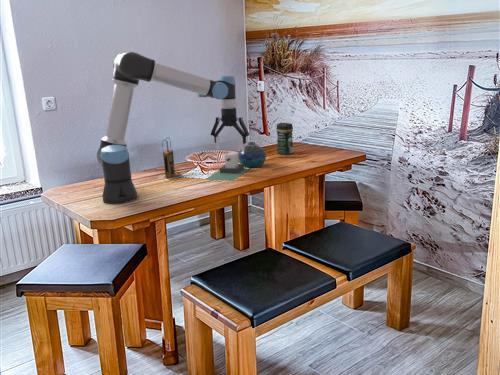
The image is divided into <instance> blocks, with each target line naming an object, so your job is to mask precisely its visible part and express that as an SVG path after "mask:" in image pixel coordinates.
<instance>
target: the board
mask: <svg viewBox="0 0 500 375" xmlns="http://www.w3.org/2000/svg"><path fill="white" fill-rule="evenodd" d="M249 170H250V168H246V167H244V164H240V163H239V166H238V167H237V168H225V164H224V165H223V166H221V167H219V170H218V171H216V172H214V173H213V174H211V175H210V176H208V177H206V178H205V181H206V180H208V181H209V180H210V181H232V182H233V181H235V180H236V179H238V178H239V177H241V176H242V175H244V174H245V173H246V172H247V171H249Z"/></svg>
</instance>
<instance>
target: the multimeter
mask: <svg viewBox="0 0 500 375" xmlns="http://www.w3.org/2000/svg"><path fill="white" fill-rule="evenodd" d="M168 139H169V143H168ZM164 141H165V142H166V151H164V150H162V156H163V166H164V167H163V168H164V175H165V176H164V177H165V178H167V180H170V181H172V180H176V179H179V178H180V177H182V178H183V177H185V176H184V175H181V174H180V172H177V171H176V169H175V160H174V159H175V157H174V150H173V149H170V148H172V144H171V138H170V137H166V138H165V139H163V140H162V144H161V145H162V146H164ZM169 145H170V148H169ZM175 174H177V176H176V177H174V178H172V177H173V176H174V175H175Z"/></svg>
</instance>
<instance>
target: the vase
mask: <svg viewBox="0 0 500 375" xmlns="http://www.w3.org/2000/svg"><path fill="white" fill-rule="evenodd" d="M244 146H245V150H241V148H240V149H239V151H238V152H237V153H238V163H239V164H244V168H248V169H254V168H259V167H261V166H263V165H264V164H265V162H266V159H267V153H266V150H265V148H263V147H262V146H260V145H259V144H256V142H255V141H249V142H247V144H246V145H244Z"/></svg>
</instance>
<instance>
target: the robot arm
mask: <svg viewBox="0 0 500 375" xmlns="http://www.w3.org/2000/svg"><path fill="white" fill-rule="evenodd" d="M112 66H113V68H112V69H113V73H112V78H111V80H112V81H113V83H114V86H113V92H112V96H111V97H112V99H111V104H110V110H109V116H108V118H107V125H106V126H107V127H106V129H105V136H103V137H102V138H101V139H100V145H99V147H98V149H97V151H96V152H97V153H96V158H97V162H98V163H99V165H100V166H101V167H102V174H103V181H104V186H103V191H102V202H103V203H106V204H113V205H114V204H116V205H117V204H125V203H129V202H133V201H134V200H136V199H138V198H139V197H138V191H137V189H136V187H135V184H134V183H133V180H132V172H131V165H130V164H131V162H130V153H129V150H128V143H127V142H126V140H125V138H126V133H127V128H128V122H129V119H130V118H129V117H130V112H131V106H132V102H133V96H134V90H135V88H136V87H138V86H139V83H140V81H142V82H143V81H144V82H148V83H151V82H153V81H154V82H156V83H160V84H163V85H168V86H170V87H174V88H178V89H181V90H185V91H188V92H192V93H196V95H197V97H198V98H210V99H211V98H212V99H214V100H215V99H216V100H220V107H221V109H220V112H221V114H220V115H221V117H220V116H216V117H215V122H214V124H213V127H212V130H211V132H210V135H211V136H213V139H214V141H213V142H214V143H215V147H216V150H220V149H221V146H220V145H221V143H220V136H219V135H220V133H221V132H222V131H223V129H224V128H225V127H233V128H234V129H235V130H236V131H237V132H238V133H239V135H240V136H241V137H240V149H241V150H245V146H246V145H245V144H246V143H247V137H248V136H250V133H249V131H248V129H247V126H246V124H245V122H244V119H243V117H242V116H240V117H238V116H237V108H236V107H237V99H236V79H235V76H233V75H221V76H220V77H219V78H218V80H213V79H209V78H205V77H203V76H200V75H196V74H193V73H190V72H186V71H183V70H180V69H176V68H173V67H169V66H168V65H167V66H166V65H163V64H160V63H157V62H156V60H155V59H152V58H149V57H146V56H144V55H142V54H140V53H138V52H134V51H123V52H120V53H119V54H117V55H116V57H115V58H114V60H113V64H112ZM220 122H222V123H221V125H220V126H219V124H220ZM238 123H239V124H238ZM239 125H240V126H239ZM218 127H219V128H218Z"/></svg>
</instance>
